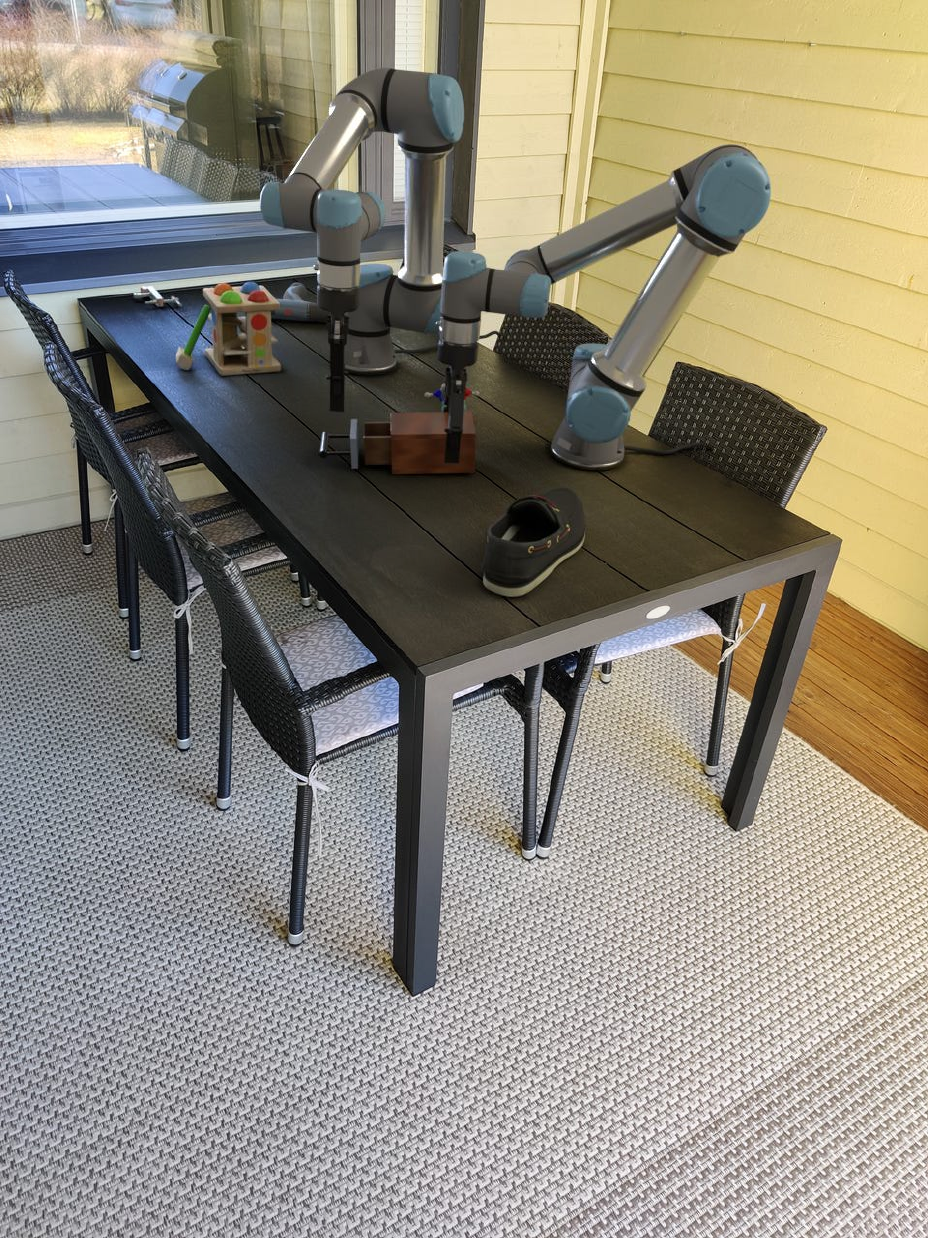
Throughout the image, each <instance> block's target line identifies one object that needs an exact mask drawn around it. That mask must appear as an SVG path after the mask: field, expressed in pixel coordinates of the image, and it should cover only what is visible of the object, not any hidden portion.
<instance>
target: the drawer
mask: <svg viewBox="0 0 928 1238" xmlns="http://www.w3.org/2000/svg"><path fill="white" fill-rule="evenodd" d="M358 424H359V423H358V419H357V418H351V419H350V433H347V434H346V433H343V434H341V433H339V434H336V433H335V434H330V433H329V432H327V431H322V433H321V434H320V442H319V448H318V449H319V450H318V456H319V458H320V459H326V458H328V456H350V464H351V466H350V467H351V469H352V470H355V469H359V450H360V448H359V447H360V445H359V427H358V426H359V425H358ZM363 424H364V436H363V448H364V451H363V452H364V465H365V466H385V465H386V466H388V465H389V466H390V465H391V466H392V454H391V421H364V423H363ZM330 439H349V446H350V450H347V451H345V450H344V451H341V450H340V451H339V450H337V451H329V445H330V444H329V443H330Z"/></svg>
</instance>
